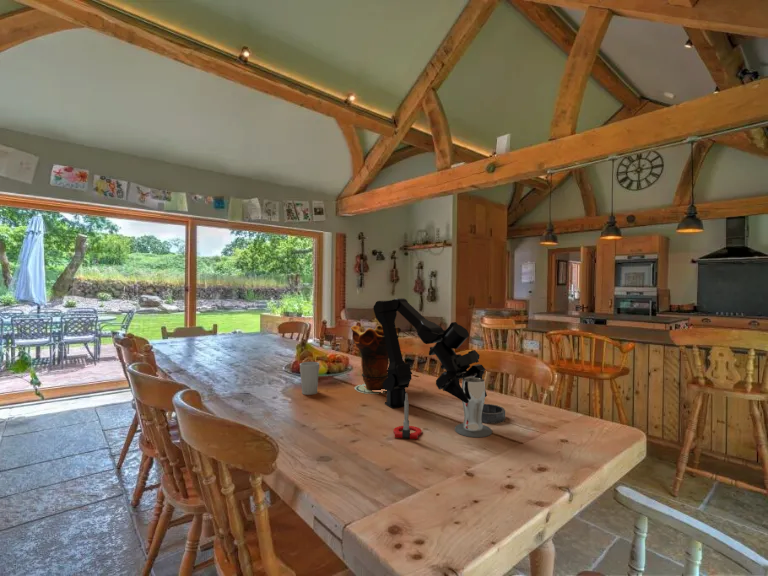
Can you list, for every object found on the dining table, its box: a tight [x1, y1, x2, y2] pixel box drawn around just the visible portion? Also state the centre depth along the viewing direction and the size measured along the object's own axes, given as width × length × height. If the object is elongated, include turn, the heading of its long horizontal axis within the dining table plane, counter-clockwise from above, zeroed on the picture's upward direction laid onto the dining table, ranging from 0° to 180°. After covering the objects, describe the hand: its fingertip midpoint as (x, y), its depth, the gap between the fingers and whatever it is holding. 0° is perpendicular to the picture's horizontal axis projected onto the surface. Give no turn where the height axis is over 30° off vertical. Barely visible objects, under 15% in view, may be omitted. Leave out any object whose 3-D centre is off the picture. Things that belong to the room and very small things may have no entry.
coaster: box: [454, 422, 493, 439], centre depth 118 cm, size 11×11×1 cm
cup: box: [299, 361, 320, 396], centre depth 161 cm, size 8×8×12 cm
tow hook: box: [393, 392, 423, 440], centre depth 116 cm, size 8×13×9 cm
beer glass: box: [461, 377, 486, 432], centre depth 118 cm, size 7×7×15 cm
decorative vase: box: [350, 324, 402, 395], centre depth 168 cm, size 21×23×28 cm
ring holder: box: [482, 403, 506, 424], centre depth 130 cm, size 11×11×3 cm
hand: (477, 399), depth 117 cm, fingers open, 9 cm apart
